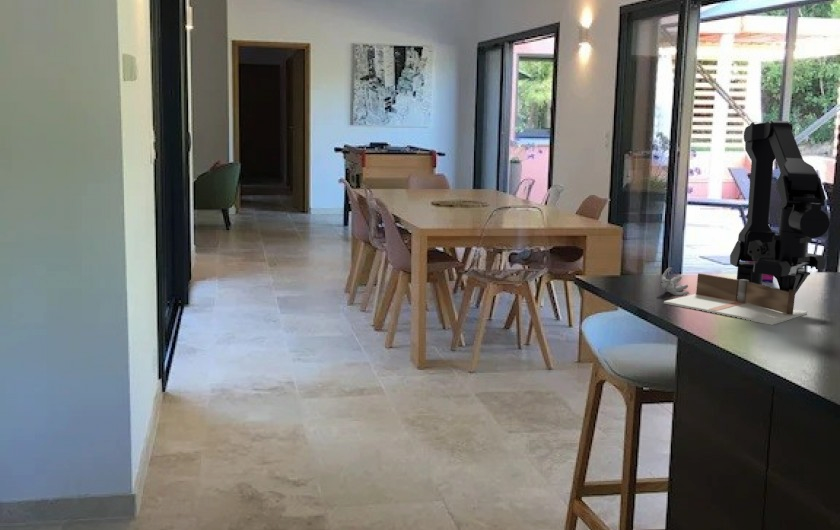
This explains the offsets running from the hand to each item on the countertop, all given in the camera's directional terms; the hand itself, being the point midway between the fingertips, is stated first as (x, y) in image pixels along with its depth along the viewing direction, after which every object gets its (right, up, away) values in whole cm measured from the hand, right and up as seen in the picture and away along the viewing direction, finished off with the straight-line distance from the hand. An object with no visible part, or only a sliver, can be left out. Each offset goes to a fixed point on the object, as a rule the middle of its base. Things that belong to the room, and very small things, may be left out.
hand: (785, 304), depth 185 cm
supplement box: (+10, +4, +40) cm, 42 cm away
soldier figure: (-19, +2, +18) cm, 26 cm away
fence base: (-10, +1, +11) cm, 15 cm away
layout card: (-10, -1, +3) cm, 10 cm away
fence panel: (-3, -1, +1) cm, 4 cm away
